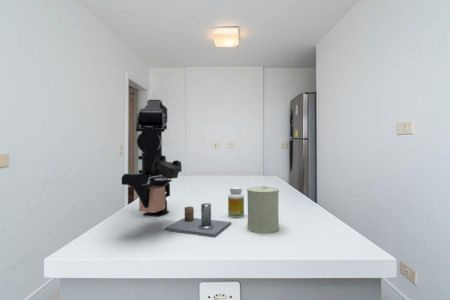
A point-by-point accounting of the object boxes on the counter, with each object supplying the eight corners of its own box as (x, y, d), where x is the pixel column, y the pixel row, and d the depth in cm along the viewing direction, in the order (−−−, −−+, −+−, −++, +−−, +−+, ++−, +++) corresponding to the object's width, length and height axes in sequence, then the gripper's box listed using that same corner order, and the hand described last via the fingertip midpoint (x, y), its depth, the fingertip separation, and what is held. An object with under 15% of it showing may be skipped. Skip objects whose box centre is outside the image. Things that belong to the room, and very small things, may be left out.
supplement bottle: (242, 218, 87) (242, 189, 87) (226, 217, 88) (226, 188, 88) (244, 214, 93) (244, 186, 92) (229, 213, 94) (229, 186, 94)
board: (164, 230, 75) (164, 227, 75) (185, 219, 87) (185, 217, 87) (214, 237, 69) (214, 234, 69) (231, 224, 80) (231, 222, 80)
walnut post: (182, 221, 82) (182, 208, 82) (187, 218, 84) (187, 206, 84) (190, 222, 81) (190, 209, 81) (195, 219, 83) (195, 207, 83)
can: (281, 225, 80) (280, 185, 79) (276, 234, 71) (276, 190, 71) (251, 222, 83) (251, 184, 82) (243, 231, 74) (243, 189, 74)
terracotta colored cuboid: (139, 211, 75) (139, 188, 75) (151, 207, 80) (150, 185, 80) (154, 212, 73) (154, 189, 73) (165, 208, 78) (165, 186, 78)
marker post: (195, 228, 75) (195, 205, 75) (203, 223, 79) (202, 202, 79) (209, 229, 73) (209, 206, 73) (216, 225, 77) (216, 203, 77)
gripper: (154, 153, 65) (155, 216, 65) (191, 151, 82) (192, 201, 82) (119, 153, 69) (120, 212, 69) (162, 151, 86) (162, 199, 87)
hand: (152, 205), depth 77 cm, fingers closed on terracotta colored cuboid, 5 cm apart
